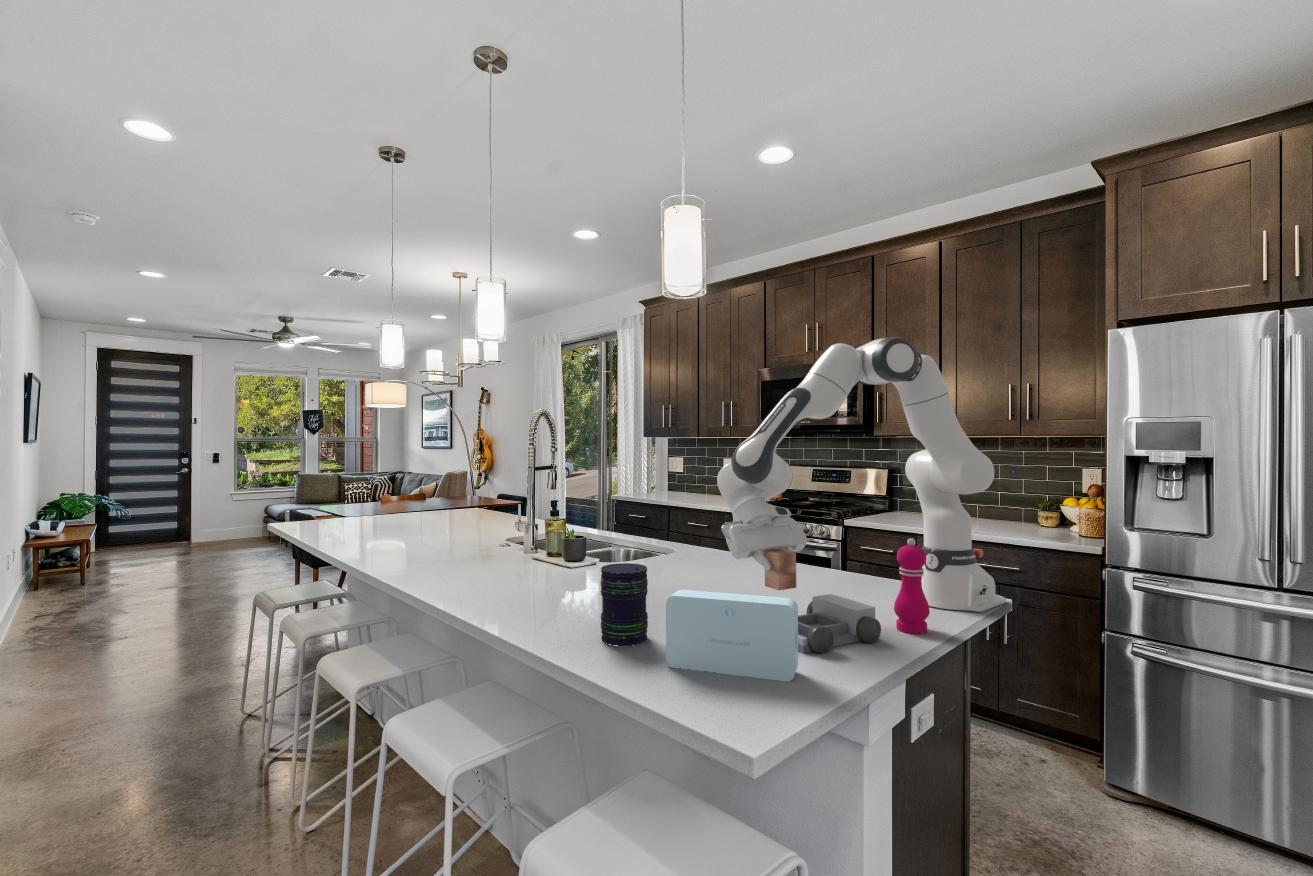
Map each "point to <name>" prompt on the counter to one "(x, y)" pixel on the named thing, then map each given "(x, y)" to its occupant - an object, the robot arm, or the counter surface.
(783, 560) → the brown rectangular block
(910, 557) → the pepper mill
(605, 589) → the storage jar
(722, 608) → the light blue box
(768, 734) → the counter surface
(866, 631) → the chassis
